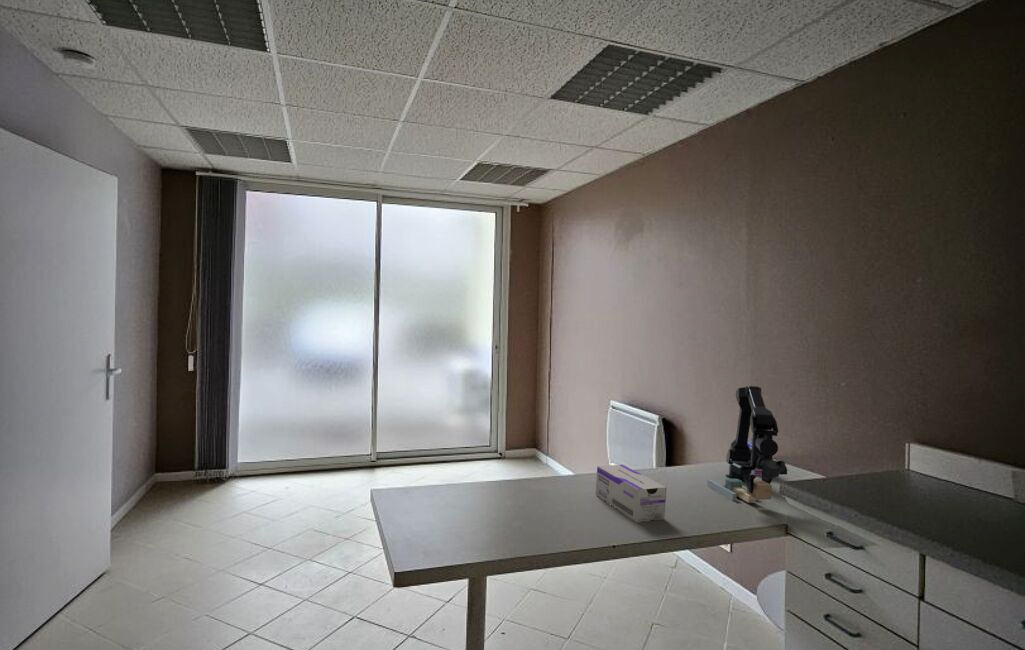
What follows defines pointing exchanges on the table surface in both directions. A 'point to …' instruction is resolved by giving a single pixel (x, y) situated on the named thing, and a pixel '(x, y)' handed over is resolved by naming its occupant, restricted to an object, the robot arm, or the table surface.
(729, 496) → the channel
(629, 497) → the surgical sutures box
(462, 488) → the table surface
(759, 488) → the block
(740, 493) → the push rod
